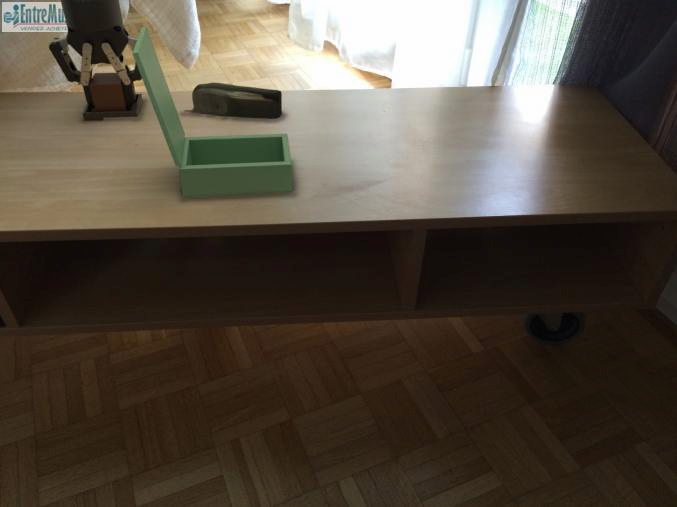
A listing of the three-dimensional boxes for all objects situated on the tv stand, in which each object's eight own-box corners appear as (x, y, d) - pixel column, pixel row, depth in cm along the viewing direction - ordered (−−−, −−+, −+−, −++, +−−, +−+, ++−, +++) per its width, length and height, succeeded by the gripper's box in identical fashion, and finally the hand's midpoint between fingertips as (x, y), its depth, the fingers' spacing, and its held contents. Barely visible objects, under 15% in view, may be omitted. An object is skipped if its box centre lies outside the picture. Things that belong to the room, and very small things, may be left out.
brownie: (95, 112, 92) (89, 84, 90) (100, 99, 96) (94, 72, 93) (125, 111, 93) (120, 83, 90) (129, 99, 96) (124, 72, 94)
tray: (85, 123, 92) (82, 113, 91) (92, 104, 97) (90, 95, 96) (138, 121, 93) (136, 111, 92) (143, 102, 98) (141, 93, 97)
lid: (146, 26, 71) (141, 27, 71) (137, 52, 64) (132, 53, 64) (185, 134, 80) (180, 135, 80) (180, 165, 73) (176, 166, 73)
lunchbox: (288, 164, 84) (287, 133, 81) (292, 196, 78) (291, 164, 75) (188, 168, 83) (183, 137, 80) (184, 202, 77) (178, 168, 74)
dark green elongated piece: (282, 86, 93) (184, 78, 93) (279, 94, 91) (179, 86, 91) (282, 116, 96) (188, 108, 96) (280, 125, 94) (183, 117, 94)
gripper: (144, -19, 87) (162, 94, 98) (39, -19, 86) (69, 96, 96) (138, -3, 81) (157, 115, 92) (25, -2, 80) (58, 118, 91)
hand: (112, 105), depth 94 cm, fingers closed on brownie, 4 cm apart
